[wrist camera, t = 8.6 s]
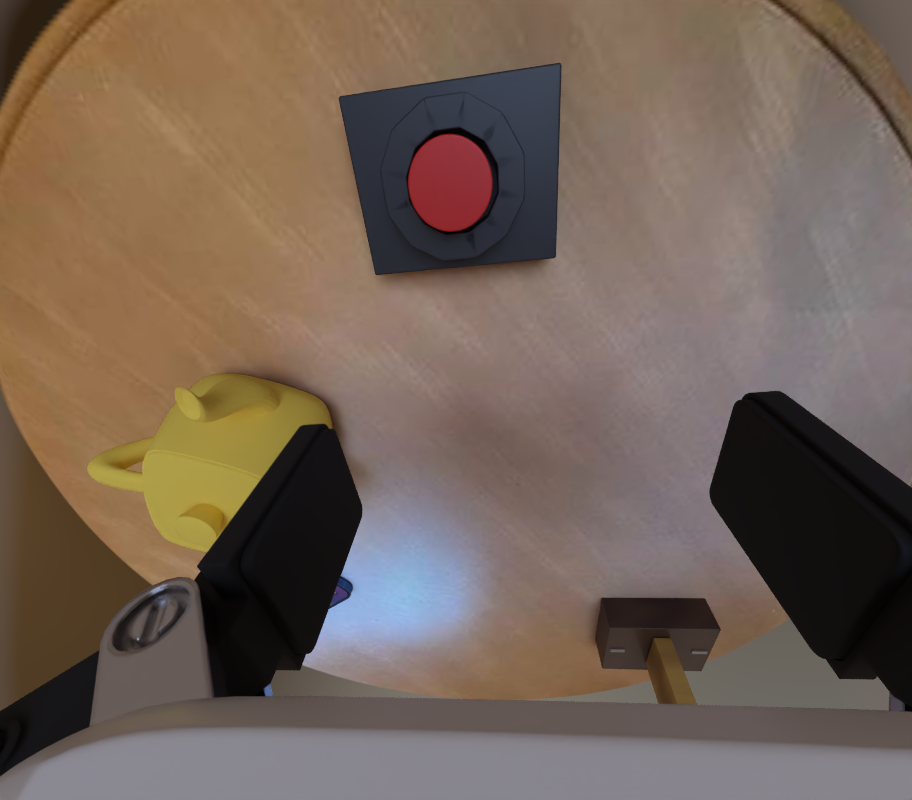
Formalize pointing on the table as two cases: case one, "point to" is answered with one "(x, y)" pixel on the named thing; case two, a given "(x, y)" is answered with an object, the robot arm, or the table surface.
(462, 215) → the button
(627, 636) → the lock plate
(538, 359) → the table surface
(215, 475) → the teapot
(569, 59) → the table surface
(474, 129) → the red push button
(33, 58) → the table surface
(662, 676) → the thumbturn
